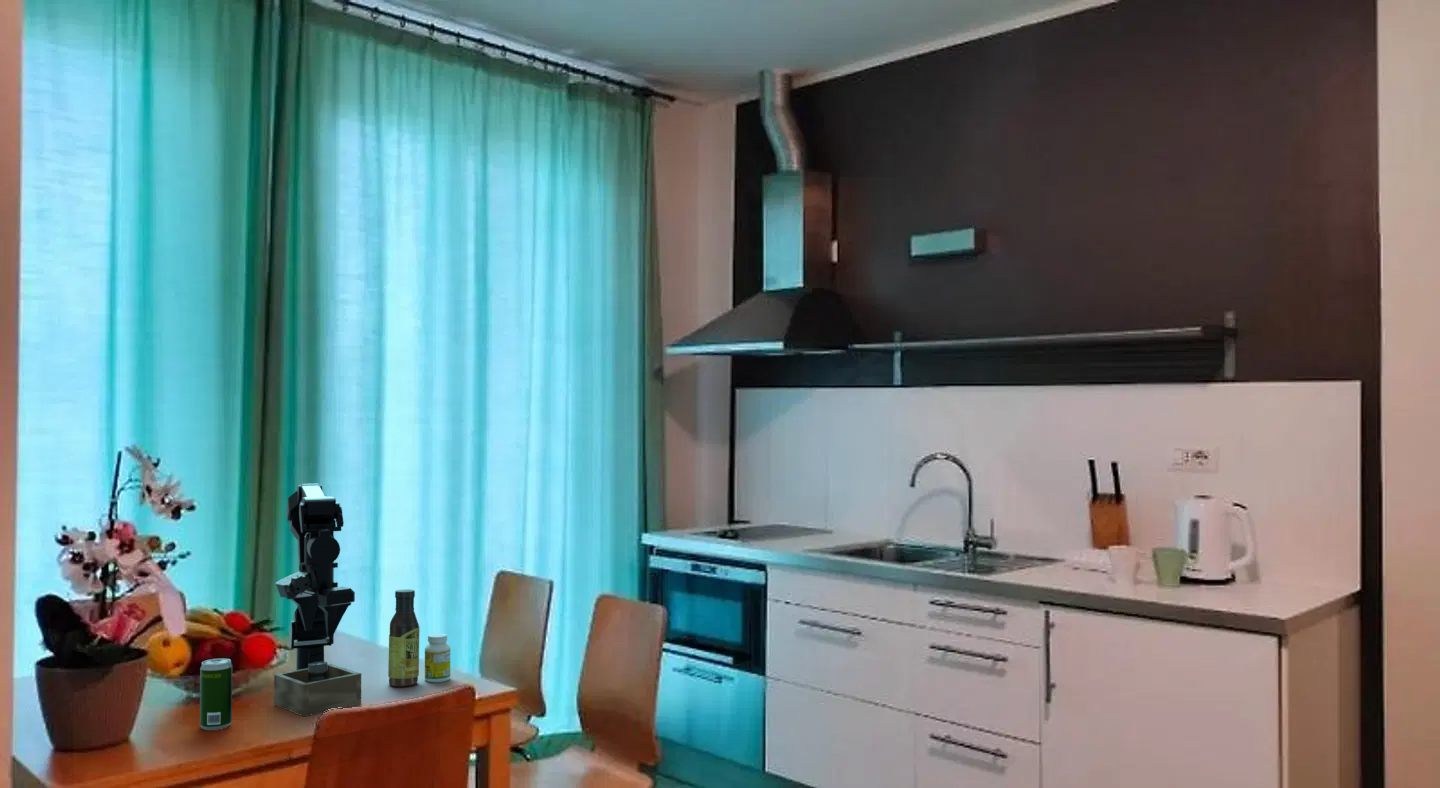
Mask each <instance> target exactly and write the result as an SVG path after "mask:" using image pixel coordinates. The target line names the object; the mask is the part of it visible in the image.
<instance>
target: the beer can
mask: <svg viewBox="0 0 1440 788" xmlns="http://www.w3.org/2000/svg"><path fill="white" fill-rule="evenodd" d="M199 671H200V672H199V673H200V674H199V677H200V678H199V688H200V689H199V725H200V727H201V729H202V730H203V729H204V731H219V730H218V729H220V730H223V729H222V728H224V729H226V728H225V727H227V728H229V727H230V726H231V724H232V722H233V664H232V660H231V659H230V658H212V659H207V660H204V661H202V662H201V666H200V668H199ZM229 725H230V726H229ZM228 726H229V727H228Z"/></svg>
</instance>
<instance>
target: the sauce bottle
mask: <svg viewBox="0 0 1440 788" xmlns="http://www.w3.org/2000/svg"><path fill="white" fill-rule="evenodd" d="M415 597H416V591H415V589H409V588H408V589H407V588H406V589H397V590H395V591H394V598H395V608H394V609H395V613H394V615H393V616H392V618H391V620H390V622H389V635H388V665H387V667H388V672H387V673H388V674H387V675H388V684H389V685H390V686H391V687H395V688H396V687H397V688H398V687H399V688H403V687H410V686H414V685H416V684H417V683H418V680H419V676H420V675H419V673H420V630H421V629H420V625H419V622H418V618H417V616H416V613H415V606H414V605H415V604H414V603H415V600H414V599H415Z"/></svg>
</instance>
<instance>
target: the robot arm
mask: <svg viewBox="0 0 1440 788" xmlns="http://www.w3.org/2000/svg"><path fill="white" fill-rule="evenodd" d="M285 512H286V522H289V530H290V533H291V534H292V535H293V536H294V538H295V539H296V540H297V552H298V553H297V554H298V571H297V572H295V573H292V574H290V575H287V576H285V577H283V578H281V579H280V580H277V581H276V582H275V587H276V588H277V591H278V594H279V597H280V598H285V599H287V600H290V601H291V602H293V603H294V604H295V605H296V607H297V608H296V609H295V611H294V613H293V616H292V617H293V618H292V620H290V624H289V633H288V638H289V639H288V641H289V642H288V645H289V648H290V649H291V650H294V649H296V653H295V654H296V655H295V656H296V658H295V659H296V663H295V664H296V667H295V668H296V669H295V670H301V669H306V668H308V664H309V663H312V662H325V647H326V646H329V647H330V646H332V645H333V644H334V641H335V640H334V639H335V638H334V636H335V633H336V631H337V628H338V627H339V624H341V623H340V622H341V620H342V619H343V616H344V615H345V613H346V611H347V610H348V608H349V606H351V605H352V603H354V602H355V601H356V596H355V595H356V593H355V591H354V590H353V589H352V588H351V587H346V586H339V582H337V581H335V579H334V578H335V577H334V576H335V574H334V573H335V570H334V569H335V568H336V569H337V568H339V562H337V559H338V558H339V556H340V552H341V546H340V543H339V541H338V540H337V539H336V538H335V535H334V532H341V531H342V527H344V524H345V523H344V517H343V515H344V514H343V509H342V506H341V505H340V503H339V501H337V500H336V497H334V496H330V495H329V496H327V495H326V494H325V493H324V492H323V484H319V483H300V484H299V485H297V488H296V491H295V492H294V493H292V494H291V495H290V496H289V497H288V498H287V501H286V511H285ZM295 670H292V671H295Z"/></svg>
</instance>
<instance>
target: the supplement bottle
mask: <svg viewBox="0 0 1440 788" xmlns="http://www.w3.org/2000/svg"><path fill="white" fill-rule="evenodd" d="M447 641H448V634H446V633H431V634H428V636H427V642H428V644H427V645H426V646H425V647H424V680H425V681H426V682H429V683H444V682H447V681H449V680H450V678H451V646H450V644H449V643H447Z"/></svg>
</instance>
